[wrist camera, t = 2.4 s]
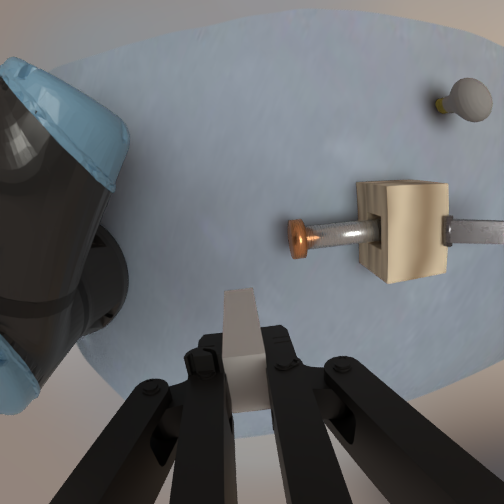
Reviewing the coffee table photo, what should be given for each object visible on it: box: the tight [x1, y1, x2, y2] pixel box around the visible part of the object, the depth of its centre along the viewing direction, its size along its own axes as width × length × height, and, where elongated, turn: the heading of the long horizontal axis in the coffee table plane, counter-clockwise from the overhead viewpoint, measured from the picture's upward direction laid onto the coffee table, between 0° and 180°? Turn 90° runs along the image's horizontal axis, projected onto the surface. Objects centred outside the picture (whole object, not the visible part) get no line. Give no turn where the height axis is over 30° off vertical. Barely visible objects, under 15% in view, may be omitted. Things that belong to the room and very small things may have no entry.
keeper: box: [443, 215, 504, 247], centre depth 26 cm, size 15×3×1 cm, turn 96°
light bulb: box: [436, 78, 493, 122], centre depth 29 cm, size 5×6×10 cm
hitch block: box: [356, 180, 449, 284], centre depth 34 cm, size 8×10×8 cm
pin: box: [288, 219, 381, 259], centre depth 33 cm, size 13×4×4 cm, turn 96°
